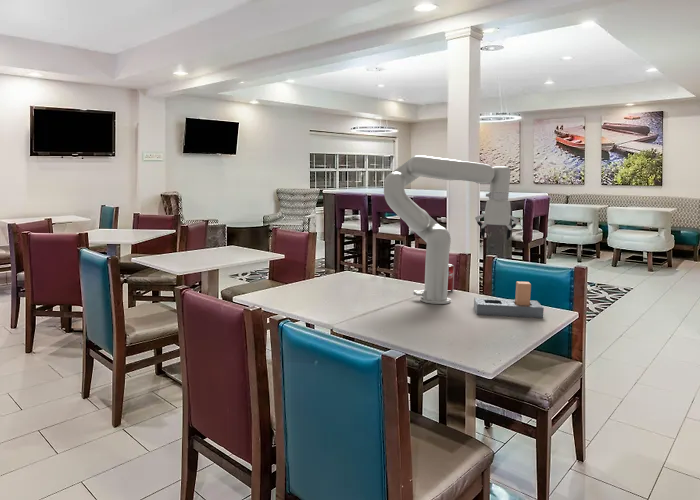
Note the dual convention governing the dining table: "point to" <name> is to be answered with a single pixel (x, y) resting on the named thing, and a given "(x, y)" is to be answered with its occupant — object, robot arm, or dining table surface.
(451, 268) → the soda can
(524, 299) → the square peg
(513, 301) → the gray peg hole board
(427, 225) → the robot arm
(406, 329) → the dining table surface
